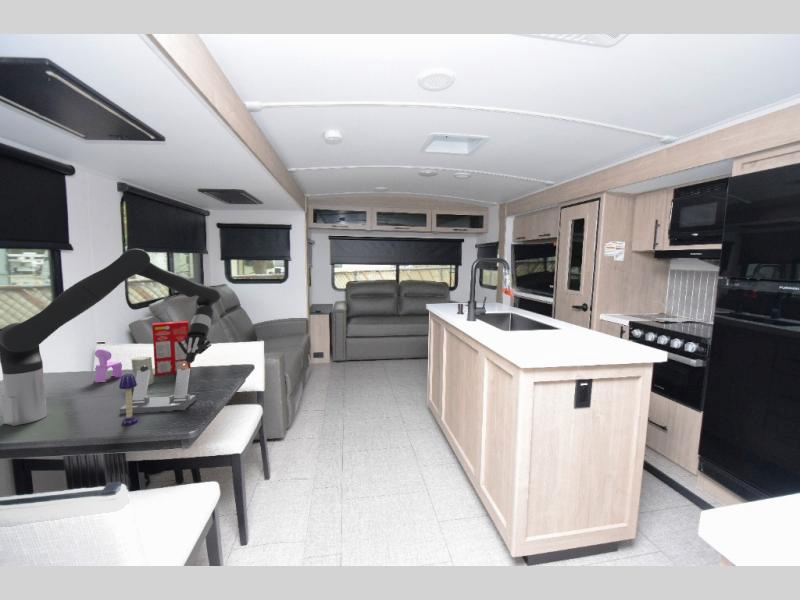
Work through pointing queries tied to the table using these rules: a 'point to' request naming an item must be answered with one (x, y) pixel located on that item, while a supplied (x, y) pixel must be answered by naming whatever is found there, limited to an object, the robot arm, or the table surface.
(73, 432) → the table surface
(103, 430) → the table surface
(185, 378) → the copper knob lever
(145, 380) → the black knob lever
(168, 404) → the switch panel
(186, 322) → the food packaging
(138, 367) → the skincare box
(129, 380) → the toy lamp
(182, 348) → the robot arm
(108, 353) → the toy chair
